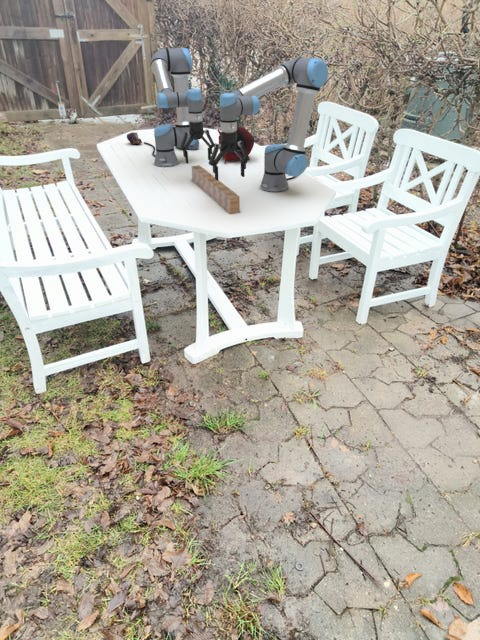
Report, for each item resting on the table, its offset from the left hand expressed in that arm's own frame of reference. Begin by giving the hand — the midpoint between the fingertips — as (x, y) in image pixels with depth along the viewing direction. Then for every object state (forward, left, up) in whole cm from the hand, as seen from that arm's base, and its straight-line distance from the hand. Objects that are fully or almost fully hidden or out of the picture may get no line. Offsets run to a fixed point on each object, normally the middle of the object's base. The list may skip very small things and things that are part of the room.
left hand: (198, 161), depth 255 cm
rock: (-104, +31, -12) cm, 109 cm away
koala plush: (-66, +50, -12) cm, 84 cm away
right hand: (+43, -19, +4) cm, 47 cm away
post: (+21, -9, -12) cm, 26 cm away
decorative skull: (-18, +51, -12) cm, 55 cm away
